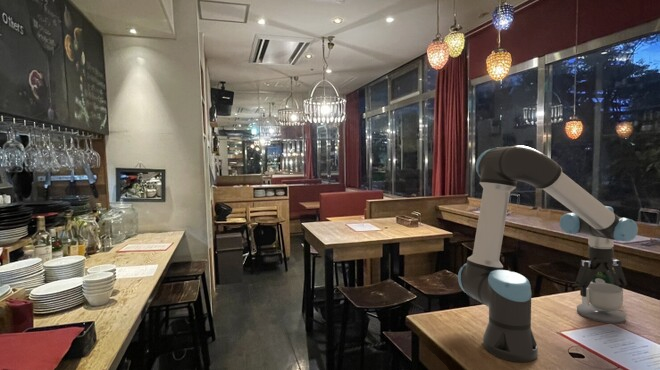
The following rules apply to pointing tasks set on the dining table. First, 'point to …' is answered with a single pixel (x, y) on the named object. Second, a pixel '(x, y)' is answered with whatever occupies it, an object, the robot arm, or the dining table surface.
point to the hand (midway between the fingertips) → (600, 304)
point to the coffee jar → (603, 277)
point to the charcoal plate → (601, 314)
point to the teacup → (605, 296)
